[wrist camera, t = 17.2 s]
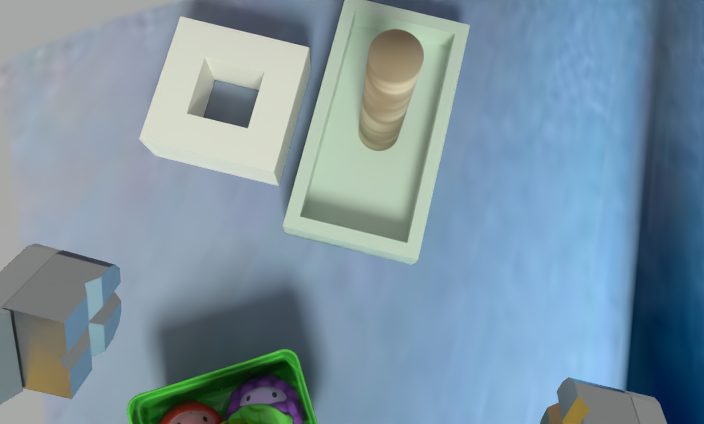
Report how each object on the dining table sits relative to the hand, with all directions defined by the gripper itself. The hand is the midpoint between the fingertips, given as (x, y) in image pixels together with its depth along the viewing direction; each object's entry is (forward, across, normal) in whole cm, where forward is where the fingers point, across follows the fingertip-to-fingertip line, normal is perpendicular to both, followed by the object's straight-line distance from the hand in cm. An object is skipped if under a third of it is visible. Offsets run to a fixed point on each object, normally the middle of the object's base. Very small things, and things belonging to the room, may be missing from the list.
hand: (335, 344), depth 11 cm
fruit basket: (+19, +5, +30) cm, 36 cm away
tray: (+36, 0, +13) cm, 38 cm away
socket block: (+35, +12, +14) cm, 40 cm away
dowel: (+35, 0, +12) cm, 37 cm away
